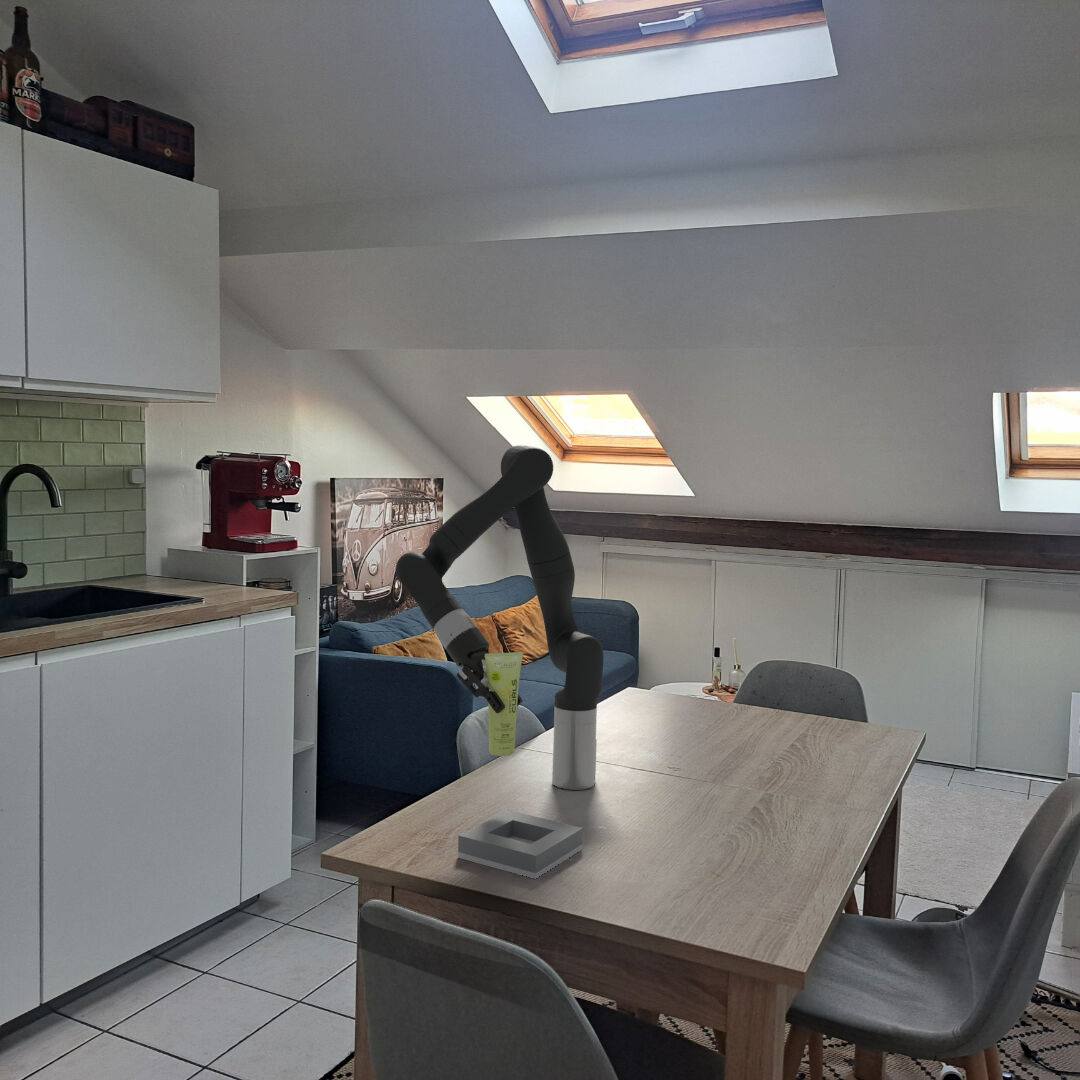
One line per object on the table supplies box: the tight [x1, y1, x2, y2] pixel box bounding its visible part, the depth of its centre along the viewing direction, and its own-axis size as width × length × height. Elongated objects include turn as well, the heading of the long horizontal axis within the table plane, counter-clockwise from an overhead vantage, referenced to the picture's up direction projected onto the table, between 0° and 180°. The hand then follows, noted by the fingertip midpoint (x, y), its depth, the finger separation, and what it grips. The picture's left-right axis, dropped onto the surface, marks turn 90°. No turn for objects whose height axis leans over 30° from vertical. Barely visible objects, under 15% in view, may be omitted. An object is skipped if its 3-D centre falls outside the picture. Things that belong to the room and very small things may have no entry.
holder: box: [457, 809, 584, 880], centre depth 178 cm, size 16×16×4 cm
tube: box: [485, 651, 524, 757], centre depth 191 cm, size 6×5×20 cm
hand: (510, 707), depth 190 cm, fingers closed on tube, 5 cm apart
